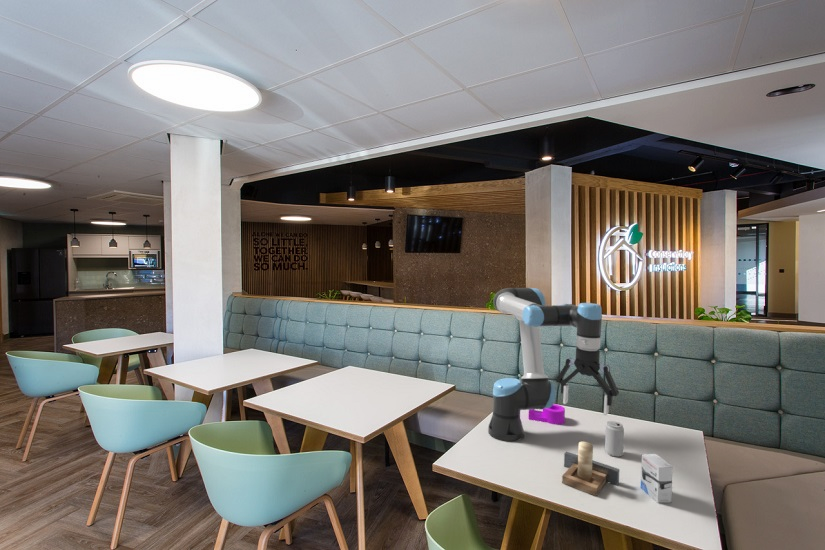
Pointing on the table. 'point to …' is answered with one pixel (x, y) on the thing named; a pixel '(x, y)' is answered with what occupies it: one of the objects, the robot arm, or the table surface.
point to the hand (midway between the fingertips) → (585, 408)
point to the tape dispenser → (549, 415)
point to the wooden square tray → (575, 482)
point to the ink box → (656, 478)
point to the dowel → (585, 461)
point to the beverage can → (614, 438)
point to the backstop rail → (595, 468)
